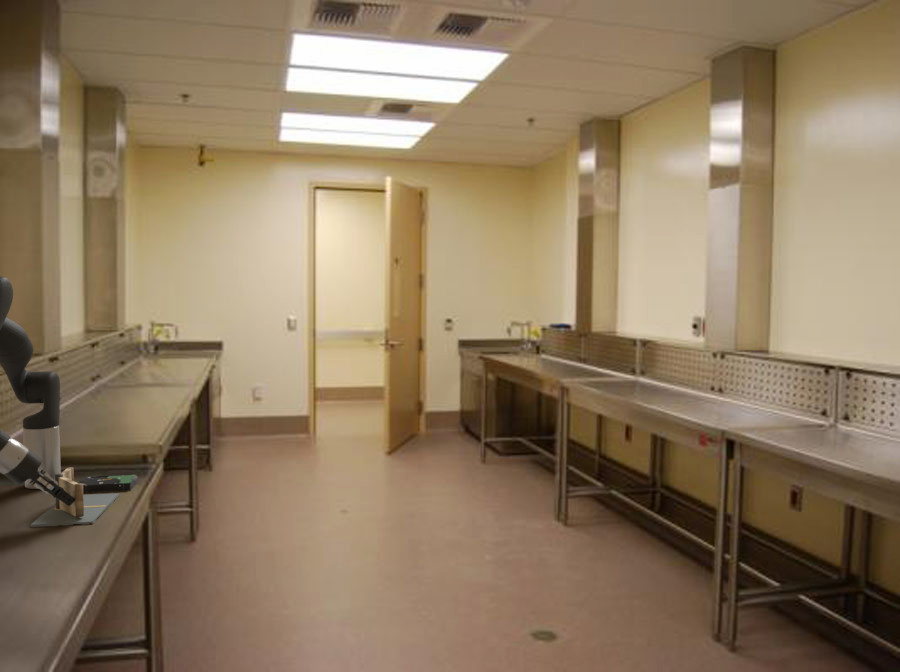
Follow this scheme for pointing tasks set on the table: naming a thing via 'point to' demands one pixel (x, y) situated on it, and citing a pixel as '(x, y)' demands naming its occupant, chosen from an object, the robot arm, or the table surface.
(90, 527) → the table surface
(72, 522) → the board
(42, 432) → the robot arm
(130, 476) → the disk drive
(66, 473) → the fixed fence section
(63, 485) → the hinged fence panel
